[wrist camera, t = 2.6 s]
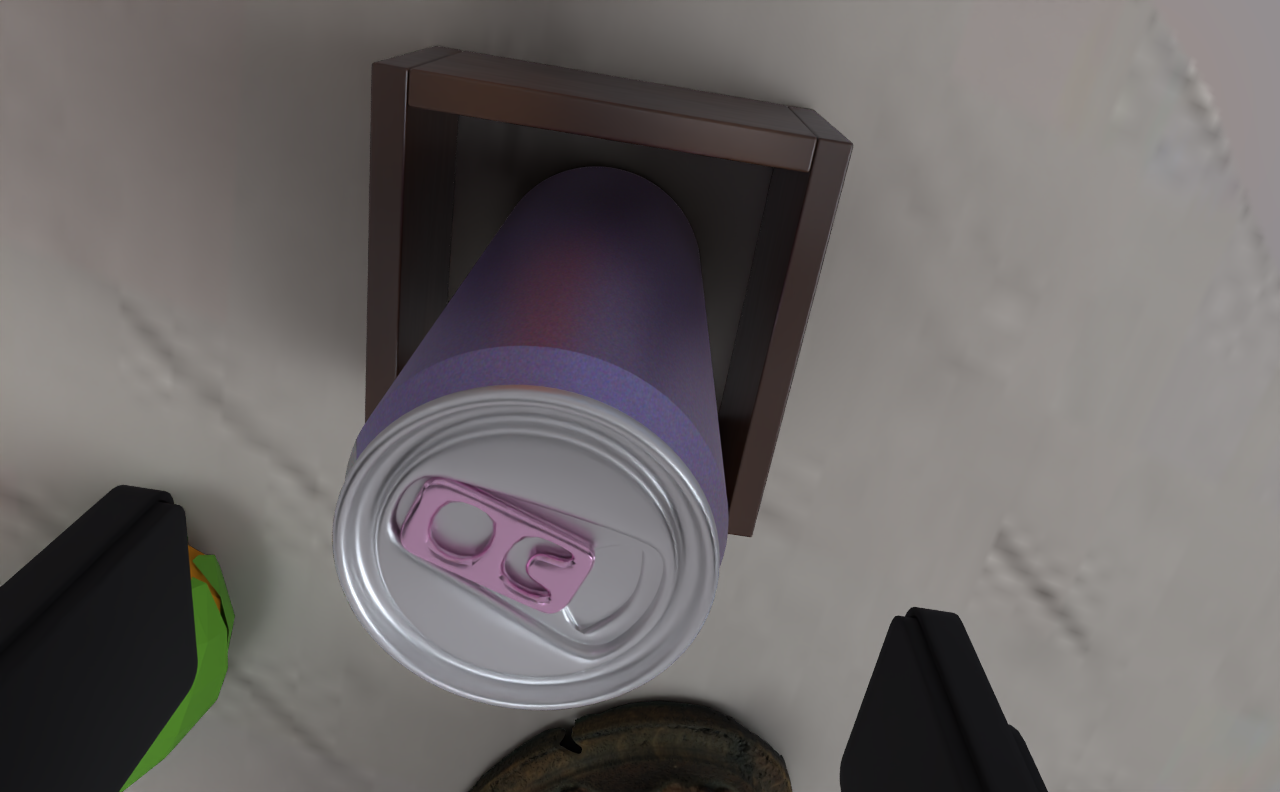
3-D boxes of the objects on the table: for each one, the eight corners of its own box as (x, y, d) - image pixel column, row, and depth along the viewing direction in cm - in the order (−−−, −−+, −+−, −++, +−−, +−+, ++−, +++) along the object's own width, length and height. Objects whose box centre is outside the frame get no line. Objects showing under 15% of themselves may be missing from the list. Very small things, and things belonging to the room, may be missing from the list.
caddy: (417, 392, 28) (363, 480, 23) (433, 44, 23) (370, 61, 18) (737, 441, 28) (752, 538, 23) (815, 110, 24) (854, 143, 19)
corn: (221, 733, 24) (-84, 1015, 31) (332, 576, 31) (65, 832, 38) (-11, 567, 22) (-281, 903, 29) (162, 440, 29) (-87, 734, 36)
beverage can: (557, 122, 24) (412, 299, 11) (737, 225, 25) (816, 506, 12) (469, 297, 26) (260, 626, 13) (638, 385, 28) (609, 772, 14)
